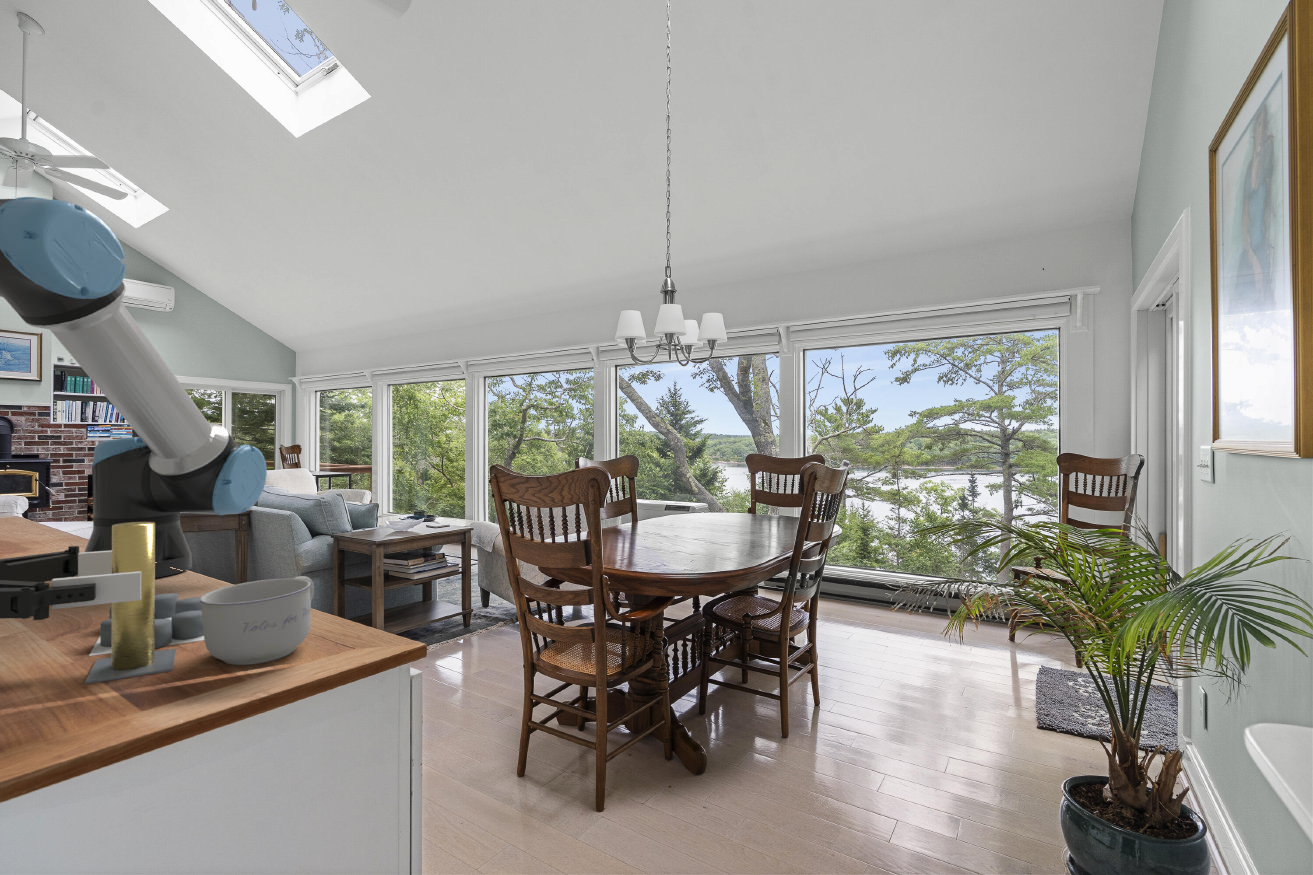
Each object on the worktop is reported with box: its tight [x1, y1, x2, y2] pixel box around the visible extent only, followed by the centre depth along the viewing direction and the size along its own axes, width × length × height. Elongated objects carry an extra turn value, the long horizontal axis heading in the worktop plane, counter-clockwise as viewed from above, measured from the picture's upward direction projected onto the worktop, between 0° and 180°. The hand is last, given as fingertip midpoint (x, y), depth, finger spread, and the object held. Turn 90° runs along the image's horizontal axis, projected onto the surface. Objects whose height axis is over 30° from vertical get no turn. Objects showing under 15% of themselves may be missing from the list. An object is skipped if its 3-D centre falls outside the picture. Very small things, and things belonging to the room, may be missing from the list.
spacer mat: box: [88, 593, 205, 657], centre depth 82 cm, size 17×11×3 cm, turn 33°
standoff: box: [110, 522, 156, 670], centre depth 70 cm, size 4×4×15 cm
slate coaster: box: [84, 648, 178, 685], centre depth 70 cm, size 7×7×1 cm
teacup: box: [200, 575, 315, 666], centre depth 76 cm, size 14×11×8 cm
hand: (147, 571), depth 70 cm, fingers open, 13 cm apart
